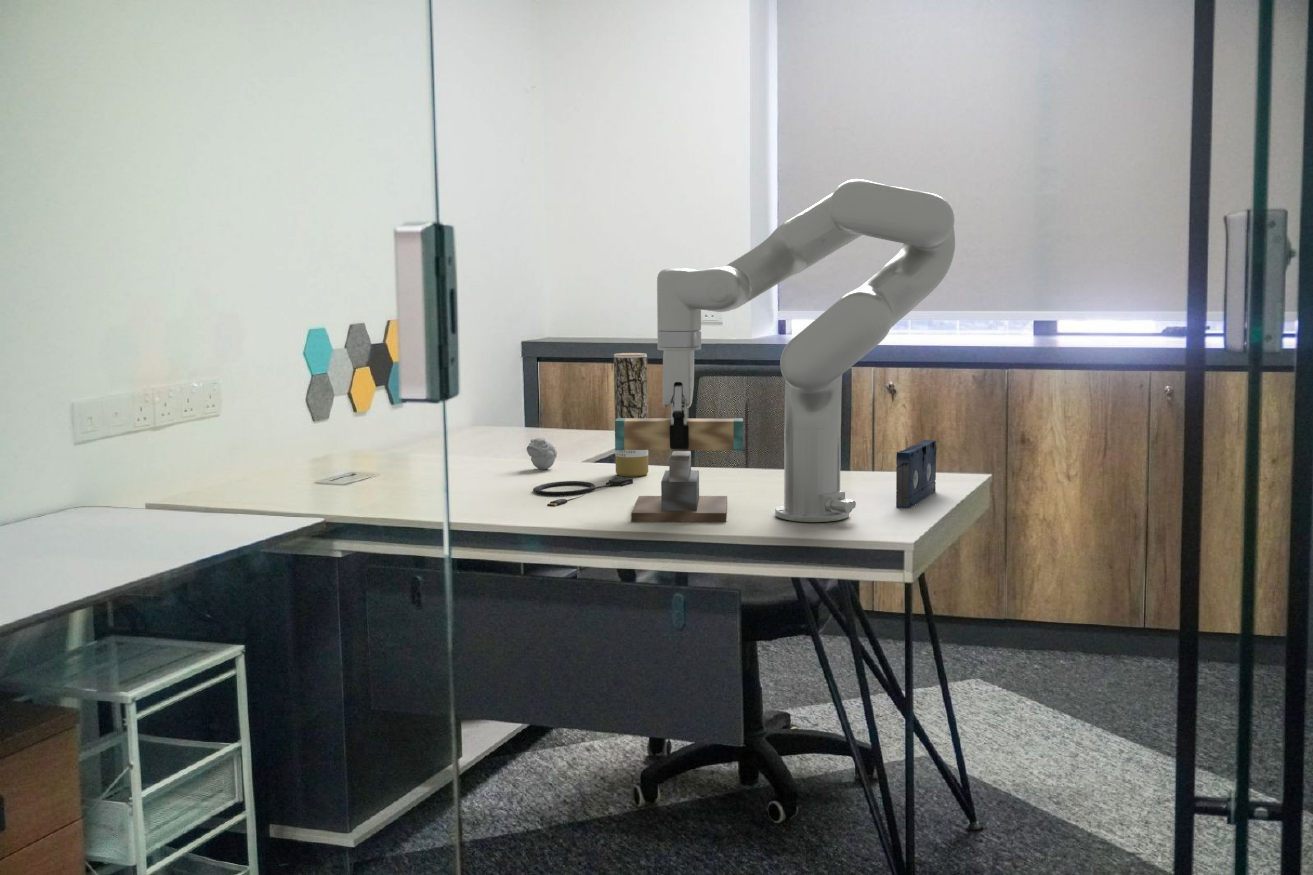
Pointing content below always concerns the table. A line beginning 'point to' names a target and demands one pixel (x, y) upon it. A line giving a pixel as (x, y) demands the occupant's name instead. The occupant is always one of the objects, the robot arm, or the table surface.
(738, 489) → the table surface
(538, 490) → the cable
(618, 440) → the oak beam
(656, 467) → the table surface
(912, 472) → the vhs cassette tape
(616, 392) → the bark log
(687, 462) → the fulcrum stand
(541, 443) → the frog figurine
